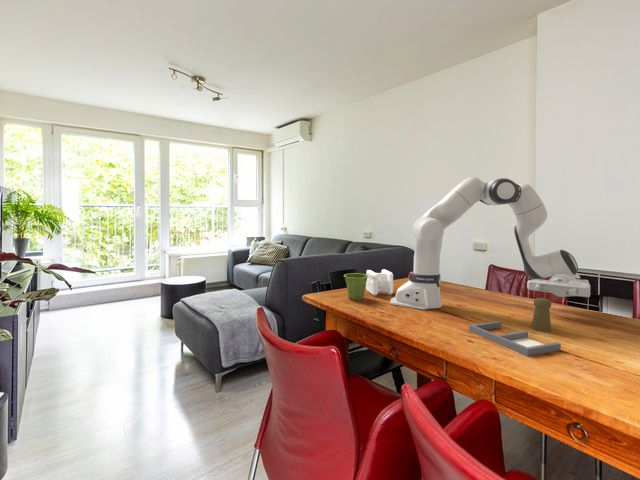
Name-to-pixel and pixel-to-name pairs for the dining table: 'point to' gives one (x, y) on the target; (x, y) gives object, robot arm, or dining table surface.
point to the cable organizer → (379, 282)
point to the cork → (541, 315)
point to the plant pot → (356, 285)
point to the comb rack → (514, 340)
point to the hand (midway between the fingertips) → (552, 290)
